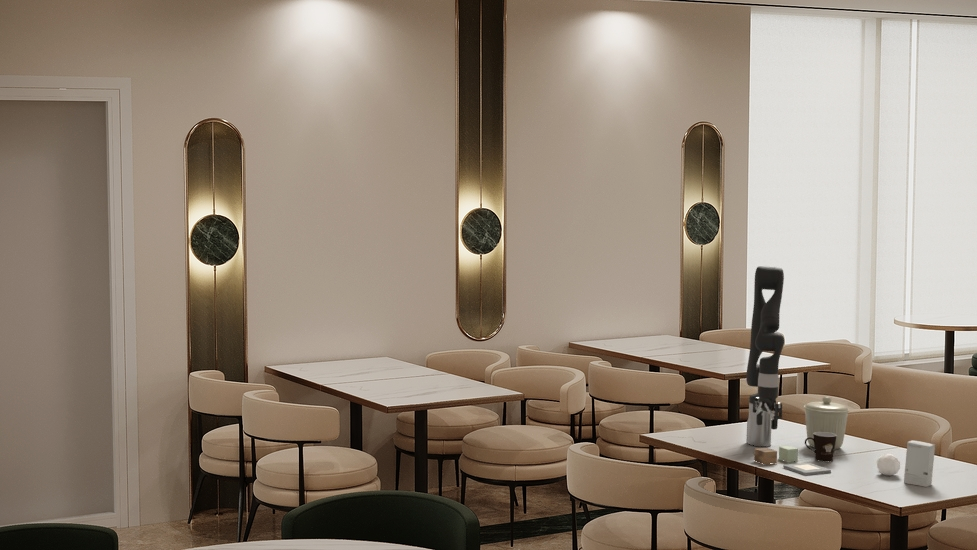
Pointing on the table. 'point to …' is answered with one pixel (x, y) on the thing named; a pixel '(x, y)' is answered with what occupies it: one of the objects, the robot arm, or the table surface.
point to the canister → (826, 419)
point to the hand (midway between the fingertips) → (766, 427)
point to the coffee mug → (823, 445)
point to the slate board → (807, 468)
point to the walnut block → (765, 455)
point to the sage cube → (788, 453)
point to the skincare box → (919, 463)
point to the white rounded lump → (888, 464)
